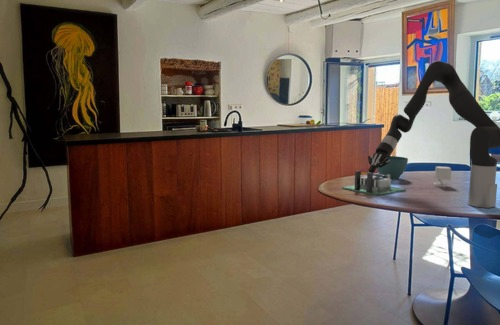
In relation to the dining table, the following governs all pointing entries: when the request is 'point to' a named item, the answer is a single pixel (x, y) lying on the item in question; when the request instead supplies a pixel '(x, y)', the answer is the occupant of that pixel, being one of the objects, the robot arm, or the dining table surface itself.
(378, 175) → the grey flat bar
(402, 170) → the plant pot
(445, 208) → the dining table surface
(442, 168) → the security camera
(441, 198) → the dining table surface
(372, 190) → the heatsink board
